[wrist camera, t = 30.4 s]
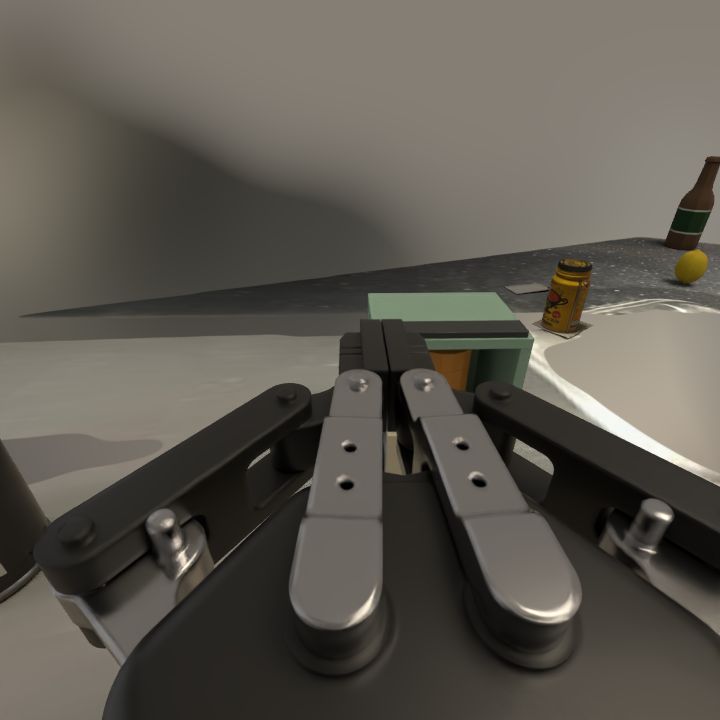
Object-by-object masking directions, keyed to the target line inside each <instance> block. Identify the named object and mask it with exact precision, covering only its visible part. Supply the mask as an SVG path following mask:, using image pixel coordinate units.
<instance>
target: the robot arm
mask: <svg viewBox="0 0 720 720" xmlns="http://www.w3.org/2000/svg"><path fill="white" fill-rule="evenodd" d="M386 420H387V428H388V432H396V434H397V442H396V452H397V456H398V460H399V464H400V468H401V472H402V475H399V474H393V473H387V472H382V432H386ZM516 438H517V439H518V440H520V441H522V442H524V443H525V444H527V445H529V446H530V447H532V448H534V449H536V450H537V451H539V452H541V453H542V454H544V455H545V456H547V457H548V458H549V459H550V461H551V462H552V464H553V466H554V473H553V475H551V474H549V473H548V472H546V471H544V470H543V469H541V468H539V467H538V466H536V465H535V464H533V463H531V462H530V461H528V460H526V459H525V458H523V457H521V456H520V455H518V454H517V453H515V452H513V449H514V445H515V441H516ZM269 448H270V453H269V454H268V455H266V456H265V457H264V458H262V459H261V460H260V461H258V462H257V463H256V464H254V465H253V466H252V467H250V468H249V469H248V467H249V465H250V464H251V462H252V461H253V460H254V459H255V458H257V457H258V456H259V455H261V454H262V453H263V452H265V451H266V450H267V449H269ZM247 469H248V470H247ZM312 476H313V479H312V484H311V486H309V487H307V488H304V489H302V490H301V491H299V492H297V493H295V492H296V491H297V490H298V489H299V488H301V487H302V486H303V485H304V484H305V483H306V482H307V481H308V480H309V479H311V478H312ZM294 493H295V494H294ZM293 494H294V495H293ZM292 495H293V496H292ZM289 497H290V498H289ZM270 514H271V515H270ZM269 515H270V516H269ZM268 516H269V517H268ZM267 517H268V518H267ZM266 518H267V519H266ZM265 519H266V520H265ZM264 520H265V521H264ZM263 521H264V522H263ZM262 522H263V523H262ZM260 523H262V524H261V525H260V526H259V527H258V528H256V527H257V526H258V525H259V524H260ZM255 528H256V529H255ZM254 529H255V530H254ZM253 530H254V531H253ZM252 531H253V532H252ZM250 532H252V533H251V534H250V535H249V536H248V537H247V538H246V539H245V540H244V541H243V542H242V543H241V544H240V545H239V546H238V547H237V548H236V549H235V550H233V551H232V552H231V553H230V554H229V555H228V556H227V557H226V558H225V559H224V560H223V561H222V562H221V563H220V564H219V565H218V566H217V567H216V568H215V569H214V565H215V564H216V563H217V562H218V561H219V560H220V559H221V558H223V557H224V556H225V555H226V554H227V553H228V552H229V551H230V550H231V549H233V548H234V547H235V546H236V545H237V544H238V543H239V542H240V541H242V540H243V539H244V538H245V537H246V536H247V535H248V534H249V533H250ZM40 569H41V570H42V571H43V573H44V574H45V576H46V577H47V579H48V581H49V585H50V588H51V590H52V592H53V593H54V595H55V596H56V598H57V599H58V601H59V602H60V604H61V605H62V607H63V608H64V610H65V611H66V613H67V614H68V616H69V617H70V619H71V620H72V622H73V623H74V624H76V625H77V626H79V628H80V629H81V631H82V632H83V634H84V635H85V637H86V638H87V640H88V641H89V643H90V644H92V645H93V646H95V647H97V648H107V650H108V651H109V652H110V654H111V655H112V656H113V658H114V659H115V661H116V662H117V663H118V665H119V666H120V667H121V669H120V671H119V673H118V675H117V677H116V679H115V681H114V683H113V685H112V687H111V690H110V692H109V695H108V698H107V701H106V704H105V708H104V712H103V716H102V720H720V487H719V486H717V485H715V484H713V483H711V482H709V481H707V480H705V479H703V478H701V477H699V476H697V475H695V474H693V473H691V472H689V471H687V470H685V469H683V468H681V467H679V466H677V465H675V464H673V463H670V462H668V461H666V460H664V459H662V458H660V457H658V456H656V455H654V454H652V453H650V452H648V451H646V450H644V449H642V448H640V447H638V446H636V445H634V444H632V443H630V442H628V441H626V440H624V439H622V438H620V437H618V436H616V435H613V434H611V433H609V432H607V431H605V430H603V429H601V428H599V427H597V426H595V425H593V424H591V423H589V422H587V421H585V420H583V419H581V418H579V417H577V416H575V415H573V414H571V413H569V412H567V411H565V410H563V409H561V408H558V407H556V406H554V405H552V404H550V403H548V402H546V401H544V400H542V399H540V398H538V397H536V396H534V395H532V394H530V393H528V392H526V391H524V390H522V389H520V388H518V387H516V386H514V385H511V384H509V383H505V382H500V381H487V382H483V383H481V384H479V385H478V386H477V387H476V389H475V393H471V392H465V391H460V390H456V389H453V388H451V387H450V386H449V384H448V382H447V380H446V378H445V377H444V376H443V375H442V374H440V373H438V372H436V370H435V367H434V364H433V361H432V359H431V356H430V354H429V350H428V348H427V344H426V341H425V339H424V338H423V337H422V336H421V335H420V334H418V333H417V332H405V329H404V325H403V321H402V319H382V320H381V321H380V319H361V320H360V333H359V332H357V333H345V334H344V336H343V337H342V338H341V339H340V355H339V376H338V377H337V378H336V381H335V386H333V387H332V388H331V389H329V390H327V391H324V392H321V393H317V394H312V395H311V392H310V390H309V389H308V388H307V387H305V386H303V385H300V384H295V383H285V384H280V385H276V386H274V387H272V388H270V389H268V390H266V391H265V392H263V393H262V394H260V395H258V396H257V397H255V398H253V399H252V400H250V401H248V402H247V403H245V404H244V405H242V406H240V407H239V408H237V409H235V410H234V411H232V412H230V413H229V414H227V415H226V416H224V417H222V418H221V419H219V420H217V421H216V422H214V423H212V424H211V425H209V426H208V427H206V428H204V429H203V430H201V431H199V432H198V433H196V434H194V435H193V436H191V437H190V438H188V439H186V440H185V441H183V442H181V443H180V444H178V445H176V446H175V447H173V448H172V449H170V450H168V451H167V452H165V453H163V454H162V455H160V456H159V457H157V458H155V459H154V460H152V461H150V462H149V463H147V464H145V465H144V466H142V467H141V468H139V469H137V470H136V471H134V472H132V473H131V474H129V475H127V476H126V477H124V478H123V479H121V480H119V481H118V482H116V483H114V484H113V485H111V486H109V487H108V488H106V489H105V490H103V491H101V492H100V493H98V494H96V495H95V496H93V497H91V498H90V499H88V500H87V501H85V502H83V503H82V504H80V505H78V506H77V507H75V508H73V509H72V510H70V511H69V512H67V513H65V514H64V515H62V516H61V517H59V518H58V519H56V520H55V521H54V522H52V523H51V522H50V520H49V519H48V518H47V517H46V516H45V515H44V513H43V511H42V509H41V508H40V506H39V504H38V503H37V501H36V499H35V497H34V495H33V494H32V492H31V490H30V489H29V487H28V485H27V483H26V482H25V480H24V478H23V477H22V475H21V473H20V472H19V470H18V468H17V466H16V465H15V463H14V462H13V460H12V458H11V456H10V455H9V453H8V451H7V449H6V448H5V446H4V444H3V443H2V441H1V439H0V602H1V601H3V600H4V599H6V598H8V597H9V596H11V595H12V594H13V593H15V592H16V591H18V590H19V589H20V588H21V587H23V586H24V585H25V584H26V583H27V582H28V581H30V580H31V579H32V578H33V577H34V576H35V575H36V574H37V572H38V571H39V570H40Z"/></svg>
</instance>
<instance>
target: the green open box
mask: <svg viewBox="0 0 720 720" xmlns="http://www.w3.org/2000/svg"><path fill="white" fill-rule="evenodd" d="M368 319H380V321H381V320H382V319H402V321H403V325H404V329H405V332H417V333H418V334H420V335H421V336H422V337H423V338H424V339H425V341H426V344H427V348H428V350H453V349H472V353H471V359H470V366H469V372H468V378H467V385H466V391H465V392H471V393H475V389H476V387H477V386H478V385H479V384H481V383H483V382H487V381H500V382H505V383H509V384H511V385H514V386H516V387H518V388H520V389H522V387H523V383H524V379H525V375H526V371H527V367H528V363H529V358H530V354H531V350H532V346H533V342H534V338H533V337H532V335H531V334H530V333H529V331H528V330H527V329H526V328H525V326H524V325H523V324H522V323H521V322H520V320H518V319H517V318H516V316H515V315H514V314H513V313H512V312H511V311H510V309H509V308H508V307H507V306H506V305H505V303H504V302H503V301H502V300H501V299H500V297H499V296H498V295H497V294H496V293H495V292H484V293H369V294H368Z"/></svg>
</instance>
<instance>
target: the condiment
mask: <svg viewBox="0 0 720 720" xmlns="http://www.w3.org/2000/svg"><path fill="white" fill-rule="evenodd" d="M591 270H592V265H591V264H590V263H589V262H587V261H583V260H578V259H563V260H561V261H559V263H558V268H557V269H556V274H555V275H554V276H553V278H552V281H551V285H550V290H549V294H548V297H547V302H546V305H545V309H544V314H543V318H542V320H540V321H537V322H535V323H533V325H535V326H538V327H540V328H542V329H545V330H547V331H550V332H552V333H555V334H558V335H561V336H564V337H567V338H570V337H572V336H575V335H577V334H578V333H580V332H582V331H583V330H585V329H587V328H589V327H591V326H593V325H591V324H587V323H584V322H581V321H580V317H581V313H582V310H583V306H584V303H585V300H586V296H587V293H588V290H589V286H590V279H589V277H590V274H591Z"/></svg>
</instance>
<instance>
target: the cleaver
mask: <svg viewBox="0 0 720 720" xmlns="http://www.w3.org/2000/svg"><path fill="white" fill-rule="evenodd" d="M505 287H506V288H507V289H509V290H510V291H512V292H513V293H515V294H522V293H529V292H536V291H543V290H548V291H549V290H550V286H548V288H547V287H545V286H543V285H541V284H539V283H534V284H524V285H514V286H505Z"/></svg>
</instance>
